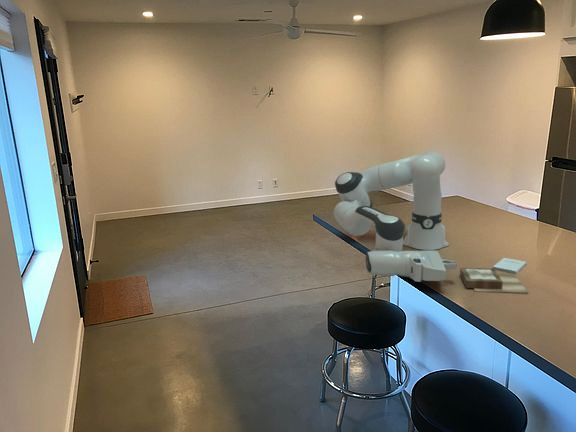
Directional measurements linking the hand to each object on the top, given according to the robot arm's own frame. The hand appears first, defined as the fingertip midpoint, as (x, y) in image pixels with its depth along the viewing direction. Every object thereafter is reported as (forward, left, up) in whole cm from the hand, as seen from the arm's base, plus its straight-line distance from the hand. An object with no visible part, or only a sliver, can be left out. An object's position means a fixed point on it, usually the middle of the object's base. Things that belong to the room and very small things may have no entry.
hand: (456, 265), depth 158 cm
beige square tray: (0, +13, -6) cm, 14 cm away
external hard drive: (-17, +22, -7) cm, 28 cm away
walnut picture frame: (0, +3, -4) cm, 5 cm away
